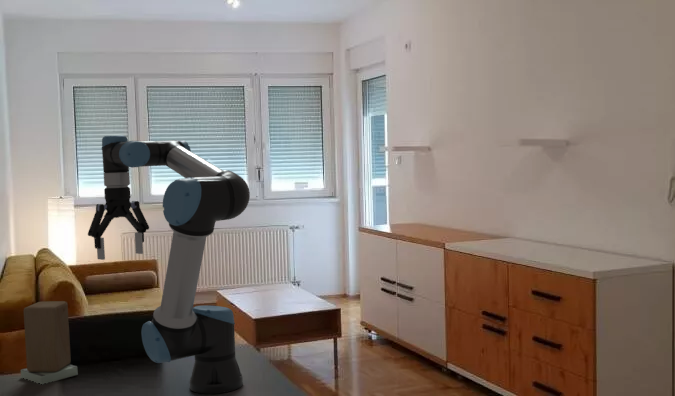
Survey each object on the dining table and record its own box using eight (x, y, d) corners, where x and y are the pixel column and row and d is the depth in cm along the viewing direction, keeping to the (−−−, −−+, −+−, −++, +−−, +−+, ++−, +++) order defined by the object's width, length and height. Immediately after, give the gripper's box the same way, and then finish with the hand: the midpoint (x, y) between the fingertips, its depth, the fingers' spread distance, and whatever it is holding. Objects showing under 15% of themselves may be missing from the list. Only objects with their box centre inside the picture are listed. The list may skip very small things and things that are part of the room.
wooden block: (72, 363, 240) (68, 300, 239) (57, 372, 230) (53, 307, 229) (41, 363, 241) (38, 301, 240) (25, 372, 231) (21, 307, 230)
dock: (77, 374, 237) (77, 366, 237) (41, 384, 227) (41, 376, 227) (56, 368, 244) (56, 360, 244) (21, 378, 235) (20, 369, 235)
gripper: (143, 184, 243) (147, 250, 244) (73, 189, 224) (77, 261, 225) (158, 184, 238) (161, 251, 239) (87, 189, 219) (91, 262, 220)
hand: (120, 256), depth 232 cm, fingers open, 13 cm apart
